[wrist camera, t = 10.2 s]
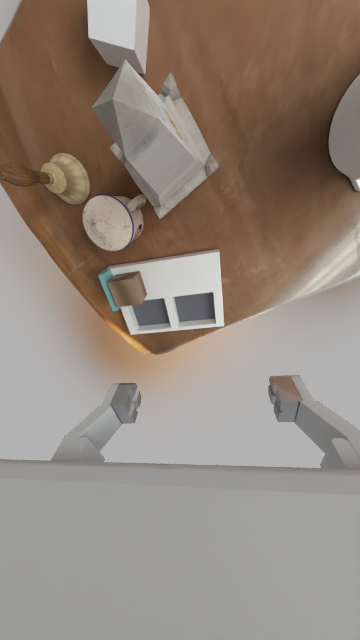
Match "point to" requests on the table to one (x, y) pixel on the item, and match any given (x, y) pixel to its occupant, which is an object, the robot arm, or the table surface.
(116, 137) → the miniature monument
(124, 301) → the walnut block
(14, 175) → the hand bell
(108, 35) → the white cube
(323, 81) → the table surface
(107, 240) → the teacup with lid
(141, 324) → the board
